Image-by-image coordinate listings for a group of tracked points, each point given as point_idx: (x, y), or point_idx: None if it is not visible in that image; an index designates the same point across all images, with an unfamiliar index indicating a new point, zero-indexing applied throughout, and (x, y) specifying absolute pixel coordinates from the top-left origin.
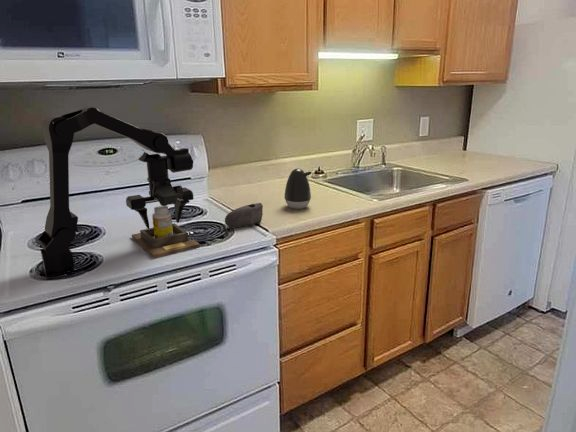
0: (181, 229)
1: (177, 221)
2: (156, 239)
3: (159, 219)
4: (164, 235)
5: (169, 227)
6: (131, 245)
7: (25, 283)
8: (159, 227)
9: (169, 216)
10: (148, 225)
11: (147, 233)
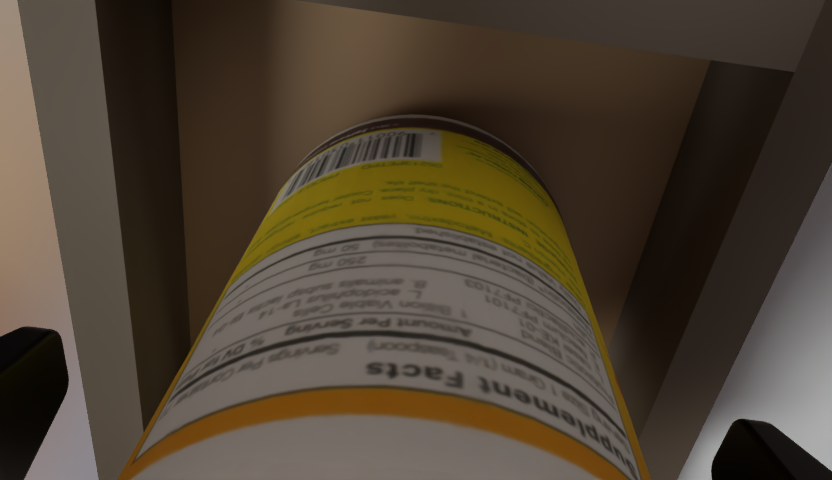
0: (78, 187)
1: (41, 351)
2: (790, 12)
3: (616, 472)
4: (481, 163)
5: (337, 220)
6: (769, 392)
7: None
8: (577, 306)
9: (208, 456)
10: (801, 473)
11: (662, 404)
